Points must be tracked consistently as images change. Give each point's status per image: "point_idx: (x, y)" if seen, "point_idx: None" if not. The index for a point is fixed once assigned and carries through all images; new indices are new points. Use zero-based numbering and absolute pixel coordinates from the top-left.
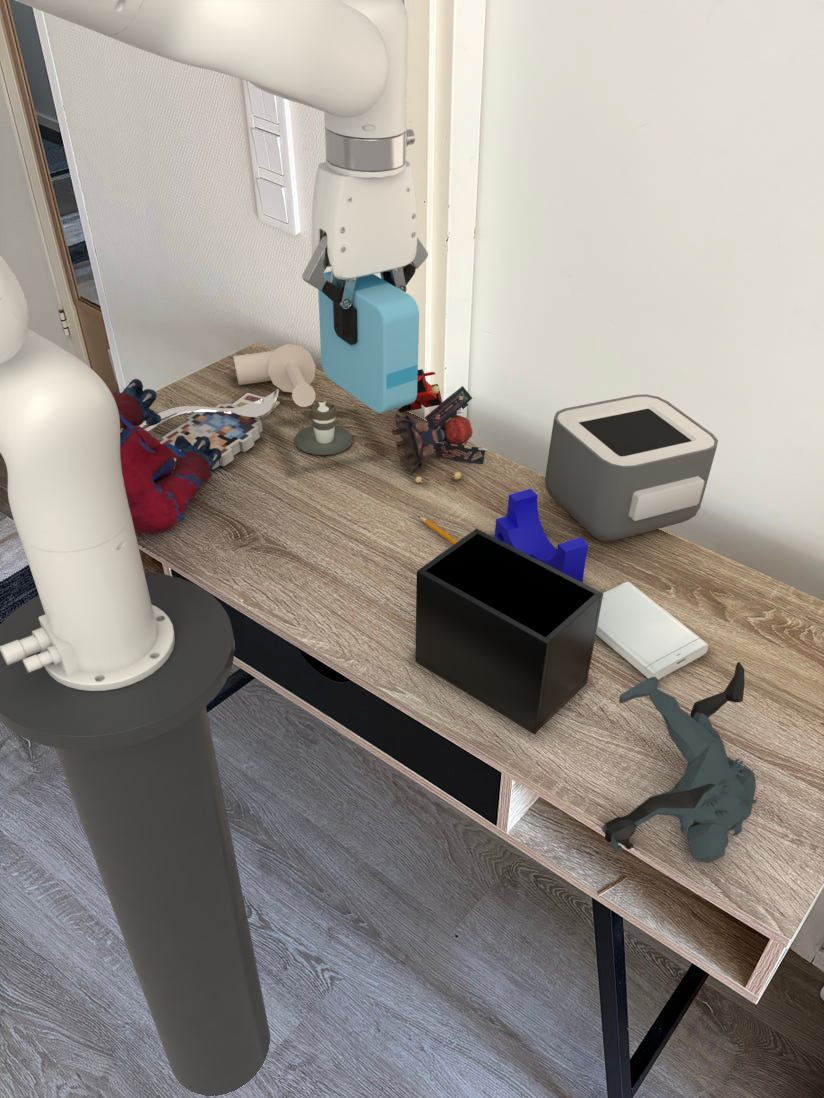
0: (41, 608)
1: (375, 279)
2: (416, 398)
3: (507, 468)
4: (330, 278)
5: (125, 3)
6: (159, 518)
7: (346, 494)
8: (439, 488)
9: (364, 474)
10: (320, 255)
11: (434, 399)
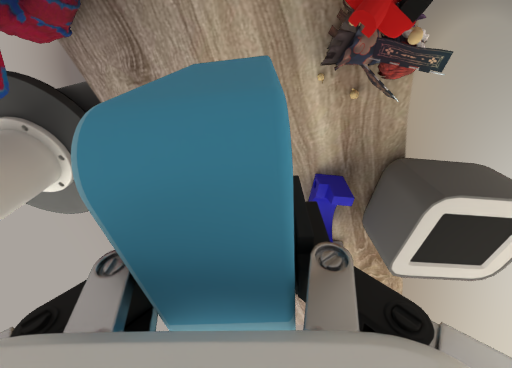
0: None
1: (266, 299)
2: None
3: (407, 99)
4: (71, 318)
5: None
6: (40, 41)
7: (249, 54)
8: (330, 94)
9: (284, 26)
10: None
11: None
